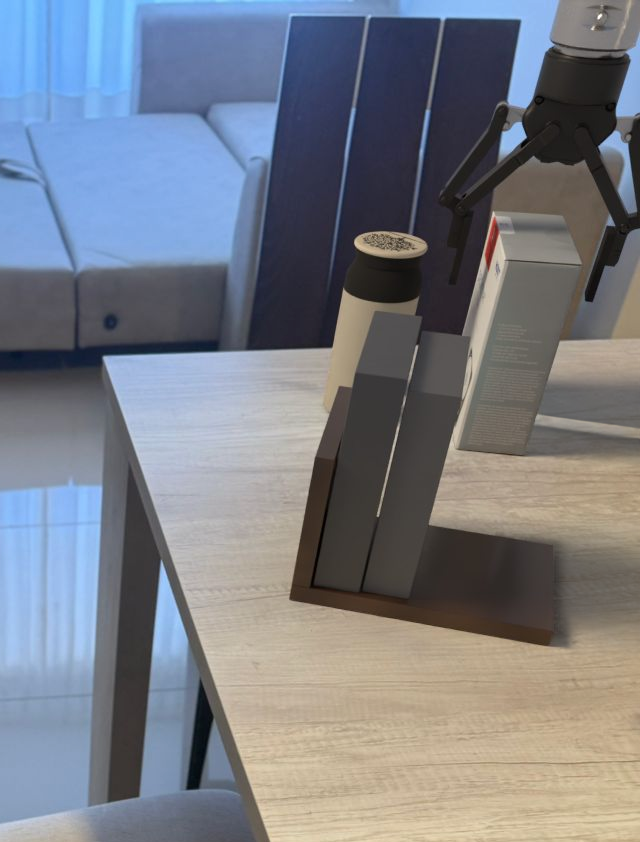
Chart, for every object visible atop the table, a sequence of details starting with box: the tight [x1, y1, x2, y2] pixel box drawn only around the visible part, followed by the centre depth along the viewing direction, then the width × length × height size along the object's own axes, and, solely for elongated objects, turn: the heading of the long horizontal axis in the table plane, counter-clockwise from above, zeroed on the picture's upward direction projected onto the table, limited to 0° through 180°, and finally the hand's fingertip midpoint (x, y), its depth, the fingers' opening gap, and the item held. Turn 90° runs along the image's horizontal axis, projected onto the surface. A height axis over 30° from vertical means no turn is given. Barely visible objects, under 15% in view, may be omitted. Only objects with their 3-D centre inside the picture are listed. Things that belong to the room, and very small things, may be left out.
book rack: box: [288, 386, 555, 647], centre depth 101 cm, size 22×15×14 cm
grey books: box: [313, 311, 470, 599], centre depth 99 cm, size 8×14×19 cm, turn 162°
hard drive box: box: [452, 210, 584, 456], centre depth 123 cm, size 16×8×20 cm, turn 168°
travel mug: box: [322, 231, 429, 413], centre depth 126 cm, size 8×8×18 cm
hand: (519, 289), depth 120 cm, fingers open, 13 cm apart
